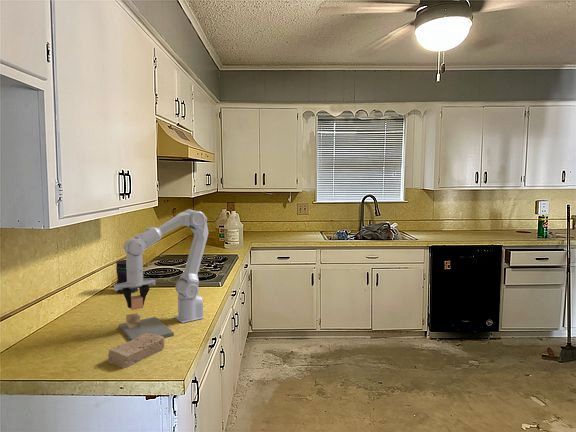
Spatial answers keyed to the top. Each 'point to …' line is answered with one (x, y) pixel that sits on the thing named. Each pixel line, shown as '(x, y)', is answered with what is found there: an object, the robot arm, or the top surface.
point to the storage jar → (123, 275)
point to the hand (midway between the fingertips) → (135, 306)
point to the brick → (135, 350)
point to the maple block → (133, 320)
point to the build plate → (147, 328)
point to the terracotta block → (136, 302)
